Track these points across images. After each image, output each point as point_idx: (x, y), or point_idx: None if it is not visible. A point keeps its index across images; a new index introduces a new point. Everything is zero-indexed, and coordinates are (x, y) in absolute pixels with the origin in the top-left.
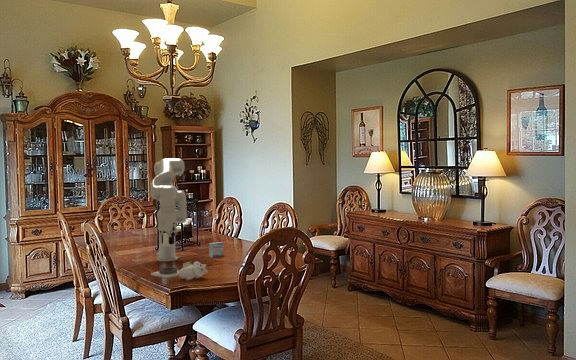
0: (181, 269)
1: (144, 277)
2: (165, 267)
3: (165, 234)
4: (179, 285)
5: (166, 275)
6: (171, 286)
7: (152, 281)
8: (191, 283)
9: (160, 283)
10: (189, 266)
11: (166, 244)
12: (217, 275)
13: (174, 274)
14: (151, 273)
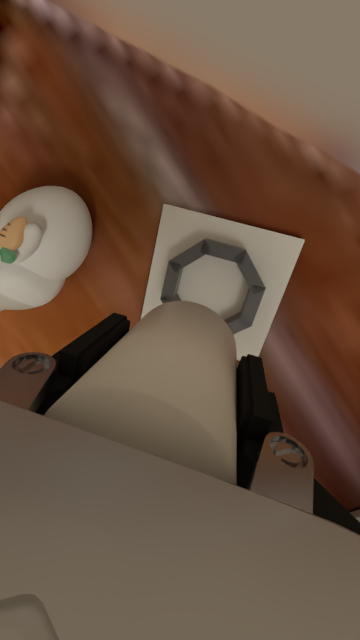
0: (46, 198)
1: (311, 169)
2: (249, 323)
3: (118, 377)
4: (22, 94)
5: (181, 222)
6: (42, 50)
7: (206, 101)
8: (3, 162)
9: (135, 81)
10: (2, 224)
11: (161, 310)
12: (8, 331)
13: (154, 258)
14: (299, 238)
